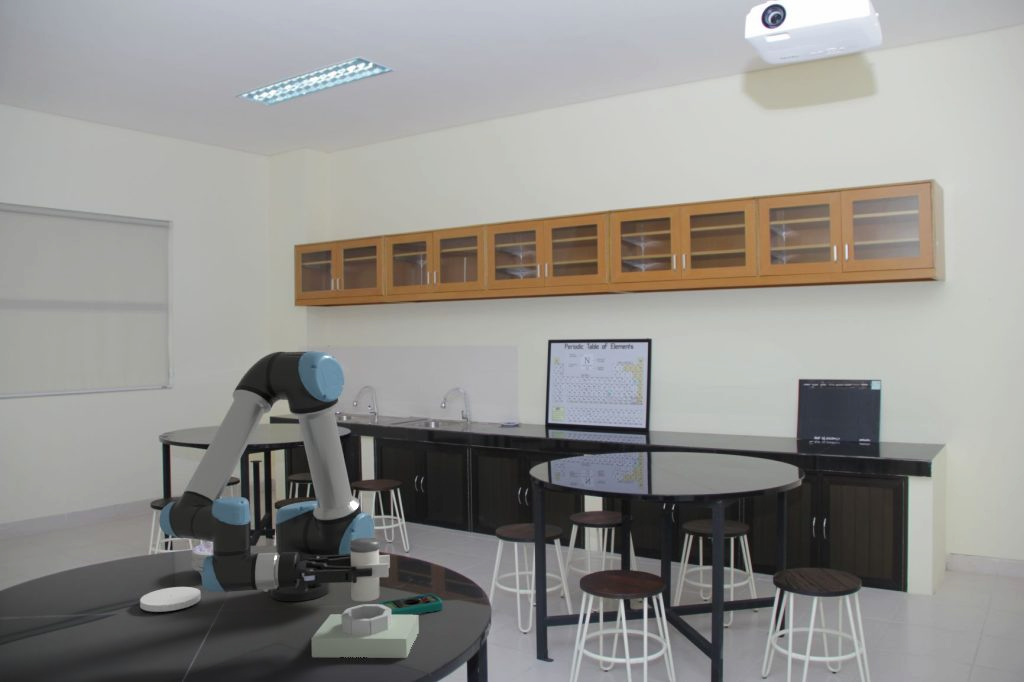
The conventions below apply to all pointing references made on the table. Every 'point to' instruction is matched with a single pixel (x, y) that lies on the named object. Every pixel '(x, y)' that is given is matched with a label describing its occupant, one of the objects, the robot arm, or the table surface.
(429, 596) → the digital multimeter
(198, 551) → the paper bowls
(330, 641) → the octagonal ring base plate
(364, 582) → the white grey-capped cylinder
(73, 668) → the table surface
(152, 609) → the plastic lid
